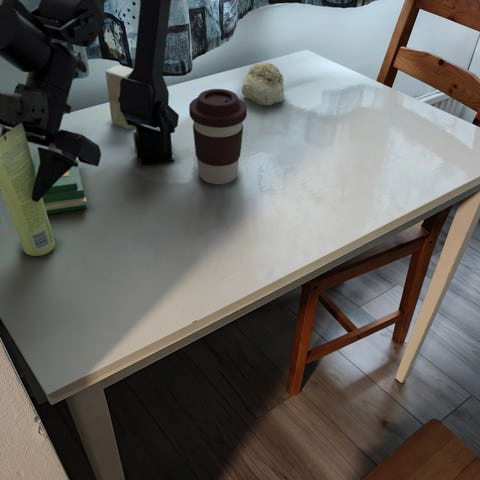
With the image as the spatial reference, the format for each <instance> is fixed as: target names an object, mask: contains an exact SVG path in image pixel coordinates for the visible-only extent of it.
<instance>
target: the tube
mask: <svg viewBox="0 0 480 480" xmlns="http://www.w3.org/2000/svg"><path fill="white" fill-rule="evenodd" d="M32 158H33V157H32V154H31V150H30V147H29V142H27V138H26V134H25V130H24V127H23V124H22V122H21V123H19V124H18V125H17V126H16V127H14V128H13V129H11V130H10V131H9V132H7V133H6V134H5V135H3V136H2V137H0V190H1V191H0V193H1V196H2V198H3V201H4V204H5V205H6V208H7V211H8V213H9V215H10V219H11V221H12V224H13V226H14V229H15V232H16V234H17V237H18V240H19V242H20V245H21V249H22V250H23V252H24V253H25V254H27V255H29V256H31V257H39V256H44V255H47V254H49V253H50V252H51V251H53V249H54V248H55V245H56V242H55V237H54V234H53V230H52V228H51V227H52V226H51V223H50V220H49V217H48V214H47V213H46V209H45V206H44V202H43V199H42V198H41V199H40V200H39V201H38V202H35V201H33V200H32V192H33V187H34V183H35V179H36V173H35V169H34V165H33V161H32Z"/></svg>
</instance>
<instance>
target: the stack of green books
mask: <svg viewBox="0 0 480 480" xmlns="http://www.w3.org/2000/svg"><path fill="white" fill-rule="evenodd" d="M31 158H32V161H33V165H34V169H35V173H36V175H37V172H38V168H39V164H40V158H39V154H33V157H31ZM76 163H78V164H79V159H78V157H77V159H76ZM79 169H80V168H79V166H78V167H72V168H71V169H70V170H68V171H67V172H66V173H65V174H64V175H63V176H62V177H61V178H60V179H59V180H58V181H57V182H56V183H55V184H54V185H53V186H52V187H51V188H50V189H49V190H48V191H47V193H46V194H45V195H44V196H43V197H42V199H43V202H44V206H45V209H46V213H47V215H49V214H50V215H51V214H57V213H64V212H70V211H76V210H82V209H83V210H84V209H87V208H88V206H87V205H88V201H87V197H86V196H85V191H84V188H83V187H84V186H83V182H82V177H81V173H80V170H79Z"/></svg>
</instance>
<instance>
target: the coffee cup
mask: <svg viewBox="0 0 480 480" xmlns="http://www.w3.org/2000/svg"><path fill="white" fill-rule="evenodd" d="M188 109H189V112H188V113H189V117H190V119H191V120H192V121H193V123H192V131H193V142H194V150H195V151H194V152H195V156H196V160H197V169H198V176H199V177H200V178H201V179H202V181H204V182H206V183H208V184H212V185H225V184H229V183H231V182H232V181H234V180H235V179H236V177H237V175H238V170H239V159H240V158H241V151H242V142H243V134H244V124H243V123H244V121H245V120H246V119H247V113H248V106H247V104H246V102H245V101H244V100H243V99H241V98H239V96H238V95H237V94H236V93H235V92H234V91H231V90H229V89H224V88H211V89H206V90H204V91H202V92H201V93H199V94H198V96H197V97H196V98H194V99H192V101H190V103H189V106H188Z"/></svg>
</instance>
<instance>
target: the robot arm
mask: <svg viewBox="0 0 480 480" xmlns="http://www.w3.org/2000/svg"><path fill="white" fill-rule="evenodd" d="M105 3H106V0H40V2H39V3H38V5H36V6H35V7H33V8H31V9H30V10H29V9H27V7H26V6H25V5H24V3H23V2H21V1H20V0H2V1H1V4H0V58H1V59H3V60H4V61H6V62H7V63H9V64H10V65H11V66H13V67H15V68H16V69H18V70H19V71H20V72H22V73H27V76H26V79H25V82H24V83H19V82H18V83H17V85H15V88H14V91H13V92H11V91H10V92H9V91H0V137H2V136H3V135H5V134H6V133H7V132H9V131H10V130H11V129H13V128H14V127H16V126H17V125H18V124H19V123H21V122H22V124H23V127H24V130H25V134H26V138H27V142H28V143H30V144H34V145H38V146H37V152H38V155H39V158H40V164H39V168H38V172H37V175H36V179H35V183H34V187H33V192H32V200H33V201H35V202H38V201H39V200H40V199H41V198H42V197H43V196H44V195H45V194H46V193H47V191H48V190H49V189H50V188H51V187H52V186H53V185H54V184H55V183H56V182H57V181H58V180H59V179H60V178H61V177H62V176H63V175H64V174H65V173H66V172H67V171H68V170H70V169H71V168H72V167H78V168H79V162H80V163H82V164H86V165H90V166H92V167H93V166H94V167H99V165H100V161H101V158H102V151H101V148H100V144H97V143H96V142H95V141H93V140H91V139H90V138H89V137H87V136H85V135H83V134H81V133H77V132H73V131H69V130H65V129H61V125H62V122H63V118H64V114H71V111H72V106H71V105H70V104H69V103H68V100H69V97H70V96H69V95H70V92H71V89H72V85H73V82H74V77H75V73H76V72H78V73H83V74H85V73H87V66H86V63H85V62H84V60H83V58H82V54H81V51H79V50H78V51H77V50H74V49H73V50H72V49H68V48H67V46H65V45H63V44H62V43H65V44H69V45H72V46H77V47H80V48H86V47H88V48H89V47H91V46H92V45H93V44H94V43H95V41H96V40H97V38H98V36H99V34H100V31H101V28H102V26H103V24H104V22H105V17H106V15H105ZM171 5H172V0H140V2H139V12H138V22H137V32H136V42H135V53H134V63H133V68H132V69H133V71H132V72H131V73H130V75H129V76H128V77H127V78H122V79H121V82H120V96H119V99H118V102H120V111H121V113H122V114H123V116H124V118H125V120H126V123H127V125H131V126H135V127H134V129H135V131H133V132H132V137H133V144H134V145H133V146H134V152H135V155H136V158H137V159H139V161H140V163H141V165H142V166H149V165H156V164H162V163H171V162H174V161H175V160H176V159H175V156H174V153H173V145H172V143H173V142H172V134H174V133H175V132H176V128H177V127H178V126H179V119H180V115H179V114H178V113H177V112H176V110H174V109H173V108H172V107H171V106H170V105H169V100H170V99H169V98H170V92H169V89H168V86H167V82H166V80H165V78H164V75H163V72H164V62H165V55H166V54H165V53H166V47H167V37H168V30H169V21H170V15H171V14H170V12H171ZM52 40H54V41H57V42H52ZM59 42H61V43H59ZM40 146H41V147H40ZM44 147H46V148H44ZM77 158H78V163H76V159H77ZM0 192H1V190H0Z"/></svg>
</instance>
